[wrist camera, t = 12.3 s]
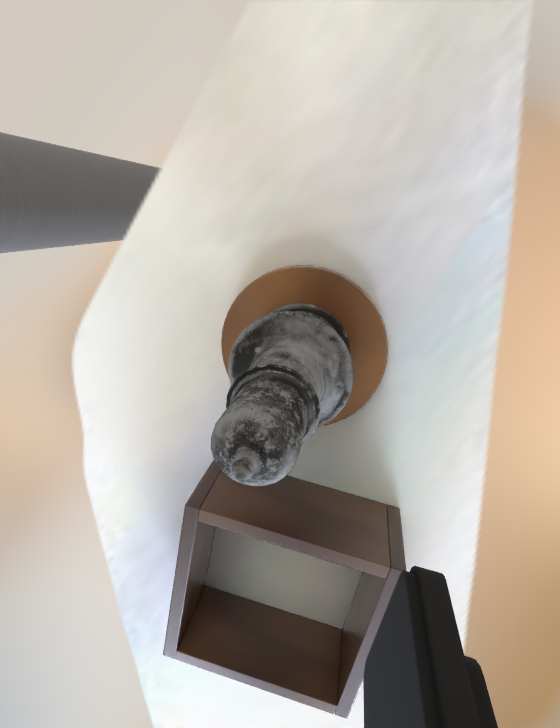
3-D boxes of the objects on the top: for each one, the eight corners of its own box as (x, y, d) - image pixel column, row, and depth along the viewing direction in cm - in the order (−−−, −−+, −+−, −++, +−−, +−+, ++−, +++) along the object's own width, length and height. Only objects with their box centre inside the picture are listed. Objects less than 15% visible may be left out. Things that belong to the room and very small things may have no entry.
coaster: (214, 400, 26) (210, 403, 25) (238, 247, 23) (235, 248, 22) (361, 440, 25) (361, 445, 24) (409, 287, 22) (410, 289, 21)
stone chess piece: (367, 390, 23) (367, 552, 12) (265, 411, 25) (182, 571, 14) (340, 283, 22) (311, 357, 11) (233, 313, 23) (109, 404, 12)
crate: (193, 589, 31) (162, 655, 27) (216, 455, 27) (184, 504, 22) (350, 641, 30) (347, 719, 25) (399, 507, 26) (406, 572, 21)
